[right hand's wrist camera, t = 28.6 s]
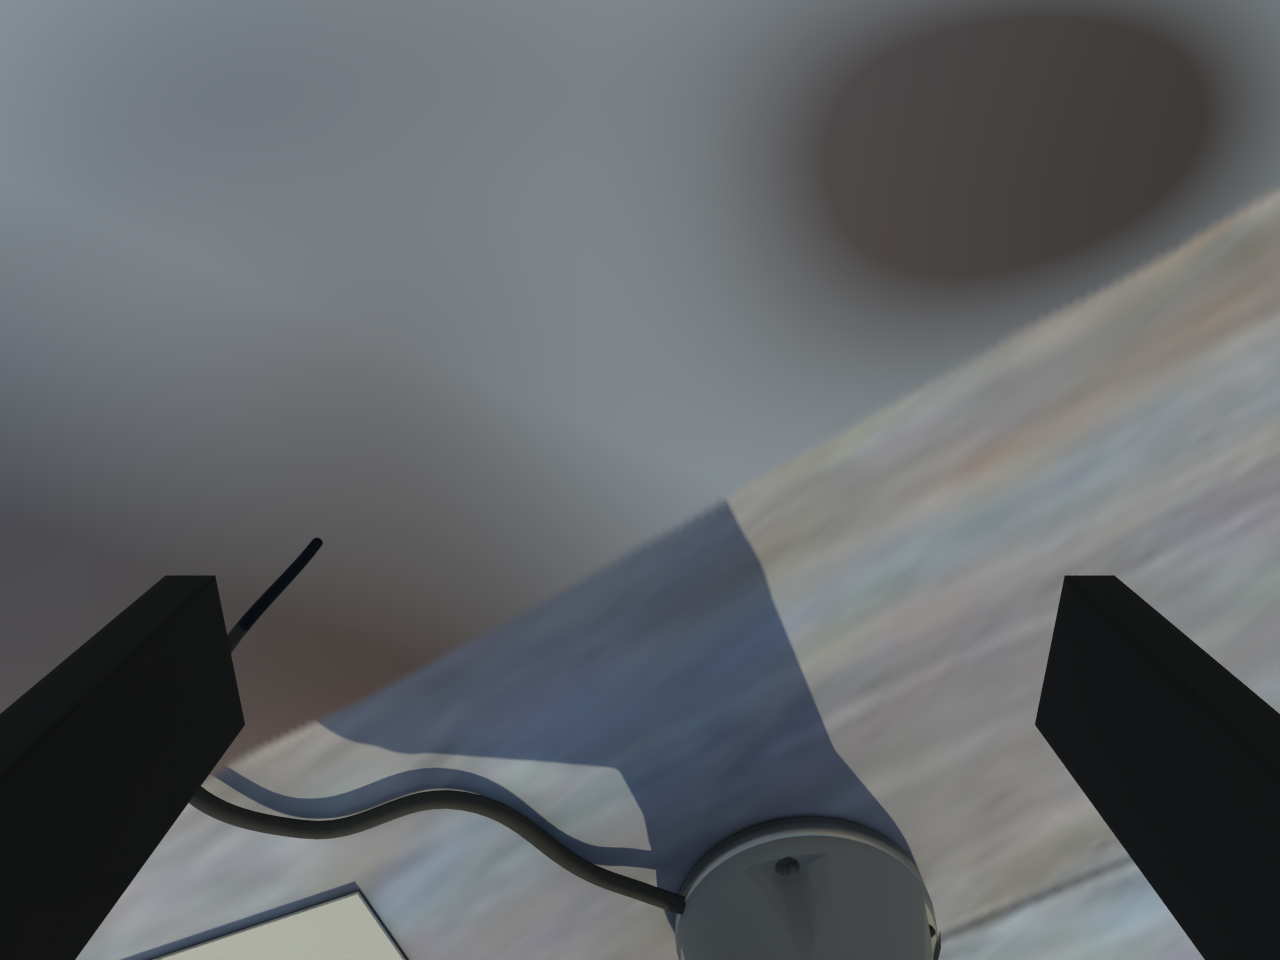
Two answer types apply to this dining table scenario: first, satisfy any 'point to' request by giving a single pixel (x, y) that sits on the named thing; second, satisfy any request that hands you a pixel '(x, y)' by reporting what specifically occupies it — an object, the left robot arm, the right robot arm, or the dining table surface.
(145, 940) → the dining table surface
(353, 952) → the invitation card
